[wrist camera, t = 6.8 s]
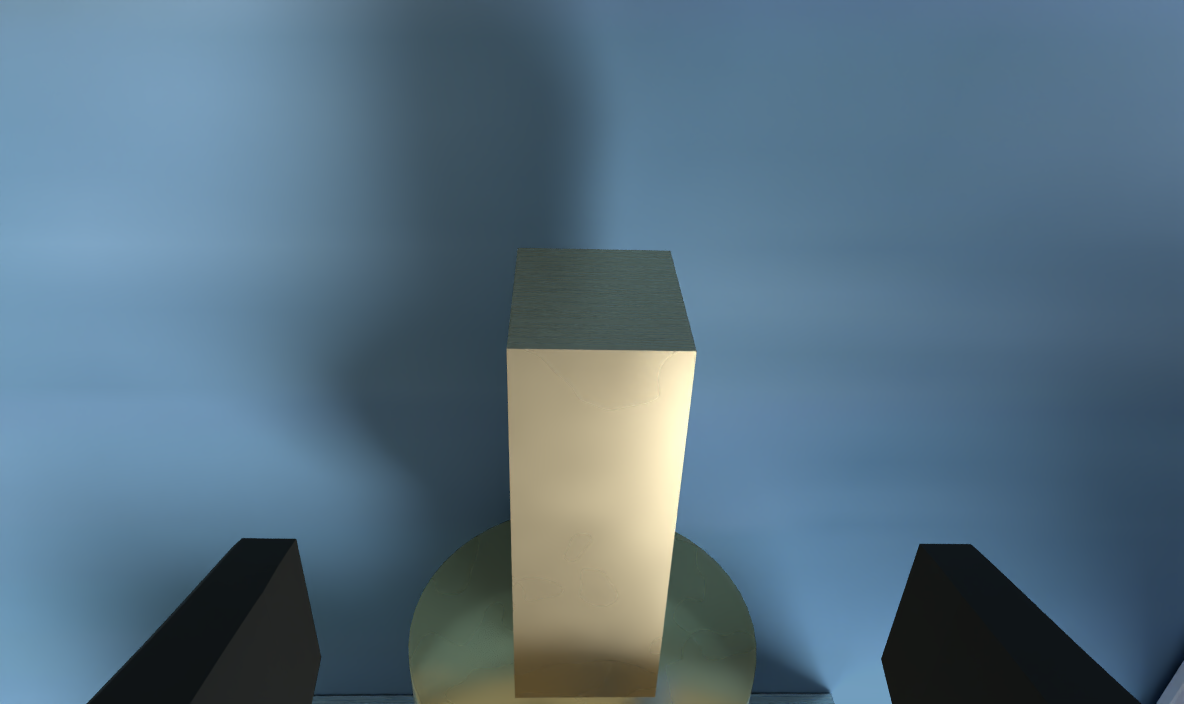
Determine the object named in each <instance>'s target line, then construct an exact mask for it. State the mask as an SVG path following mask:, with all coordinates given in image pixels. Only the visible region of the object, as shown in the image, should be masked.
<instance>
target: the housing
mask: <svg viewBox="0 0 1184 704" xmlns="http://www.w3.org/2000/svg"><path fill="white" fill-rule="evenodd" d="M312 704H415V703H414V697H413V696H313V700H312ZM749 704H834V701H833V697H832V694H751V695H750V700H749Z"/></svg>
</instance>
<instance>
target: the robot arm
mask: <svg viewBox="0 0 1184 704" xmlns="http://www.w3.org/2000/svg"><path fill="white" fill-rule="evenodd" d="M881 660H882V664H883V669H884V673H885V677H886V681H887V685H888V689H889V693H890V697H891V701H892V704H1141V703H1140V702H1139V701H1138V700H1137V699H1136V698H1134V697H1133V696H1132V695H1131V694H1130V693H1129V692H1128V691H1127V690H1126V689H1125V688H1123V687H1122V686H1121V685H1120V684H1119V683H1118V682H1117V681H1116V680H1115V679H1114V678H1113V677H1112V676H1110V675H1109V674H1108V673H1107V672H1106V671H1105V670H1104V669H1103V668H1102V667H1101V666H1100V665H1099V664H1097V663H1096V662H1095V661H1094V660H1093V659H1092V658H1091V657H1090V656H1089V655H1088V654H1087V653H1086V652H1085V651H1084V650H1083V649H1081V648H1080V647H1079V646H1078V645H1077V644H1076V643H1075V642H1074V641H1073V640H1072V639H1071V638H1070V637H1069V636H1068V635H1067V634H1066V633H1065V632H1064V631H1062V630H1061V629H1060V628H1059V627H1058V626H1057V625H1056V624H1055V623H1054V622H1053V621H1052V620H1051V619H1050V618H1049V617H1048V616H1047V615H1046V614H1045V613H1044V612H1042V611H1041V610H1040V609H1039V608H1038V607H1037V606H1036V605H1035V604H1034V603H1033V602H1032V601H1031V600H1030V599H1029V598H1028V597H1027V596H1026V595H1025V594H1024V593H1023V592H1022V591H1021V590H1019V589H1018V588H1017V587H1016V586H1015V585H1014V584H1013V583H1012V582H1011V581H1010V580H1009V579H1008V578H1007V577H1006V576H1005V575H1004V574H1003V573H1002V572H1001V571H1000V570H998V569H997V568H996V567H995V566H994V565H993V564H992V563H991V562H990V561H989V560H988V559H987V558H986V557H984V556H983V555H982V554H981V553H980V552H979V551H978V550H977V549H976V548H975V547H973V546H972V545H971V544H919V547H918V550H917V553H916V556H915V559H914V562H913V565H912V568H911V571H910V574H909V577H908V580H907V583H906V586H905V589H904V592H903V595H902V598H901V601H900V604H899V607H898V610H897V613H896V616H895V619H894V622H893V625H892V628H891V631H890V634H889V637H888V640H887V643H886V646H885V649H884V652H883V655H882V658H881ZM320 661H321V654H320V649H319V645H318V640H317V635H316V630H315V626H314V621H313V616H312V612H311V607H310V602H309V597H308V593H307V588H306V583H305V578H304V574H303V569H302V564H301V559H300V555H299V550H298V545H297V540H296V539H257V538H242V539H241V540H240V541H239V542H237V543H236V544H235V545H234V546H233V547H232V548H231V549H230V550H229V551H228V553H227V554H226V555H225V556H224V557H223V558H222V559H221V560H220V561H219V562H218V564H217V565H216V566H215V567H214V568H213V569H212V570H211V571H210V572H209V573H208V575H207V576H206V577H205V578H204V579H203V580H202V581H201V582H200V583H199V585H198V586H197V587H196V588H195V589H194V590H193V591H192V592H191V593H190V594H189V596H188V597H187V598H186V599H185V600H184V601H183V602H182V603H181V604H180V605H179V607H178V608H177V609H176V610H175V611H174V612H173V613H172V614H171V615H170V616H169V617H168V619H167V620H166V621H165V622H164V623H163V624H162V625H161V626H160V627H159V628H158V629H157V630H156V632H155V633H154V634H153V635H152V636H151V637H150V638H149V639H148V640H147V641H146V642H145V643H144V644H143V646H142V647H141V648H140V649H139V650H138V651H137V652H136V653H135V654H134V655H133V656H132V657H131V658H130V659H129V660H128V661H127V662H126V663H125V664H124V665H123V666H122V667H121V668H120V669H119V671H118V672H117V673H116V674H115V675H114V676H113V677H112V678H111V679H110V680H109V681H108V682H107V683H106V684H105V685H104V686H103V687H102V688H101V689H100V690H99V691H98V692H97V693H96V694H95V696H94V697H93V698H92V699H91V700H90V701H89V702H88V703H87V704H312V700H313V695H314V690H315V685H316V680H317V676H318V671H319V666H320ZM1156 704H1184V661H1183V662H1182V664H1181V666H1180V667H1179V669H1178V670H1177V672H1176V673H1175V675H1174V676H1173V678H1172V680H1171V681H1170V683H1169V684H1168V686H1167V687H1166V689H1165V691H1164V692H1163V694H1162V695H1161V697H1160V698H1159V700H1158V702H1157V703H1156Z"/></svg>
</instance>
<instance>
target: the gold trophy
mask: <svg viewBox="0 0 1184 704" xmlns="http://www.w3.org/2000/svg"><path fill="white" fill-rule="evenodd" d="M696 352H697V351H696V347H695V344H694V340H693V336H692V332H691V328H690V324H689V321H688V317H687V313H686V309H685V305H684V301H683V297H682V294H681V290H680V286H679V282H678V278H677V274H676V271H675V267H674V263H673V259H672V255H671V251H652V250H600V249H548V248H518V251H517V260H516V269H515V278H514V287H513V296H512V305H511V314H510V323H509V332H508V341H507V384H508V426H509V468H510V511H511V520H509V521H506V522H504V523H501V524H499V525H497V526H495V527H492V528H490V529H488V530H486V531H485V532H483V533H481V534H480V535H478V536H476V537H474V538H473V539H471V540H470V541H469V542H467V543H466V544H465V545H463V546H462V547H460V548H459V549H458V550H457V551H456V552H455V553H453V554H452V555H451V556H450V557H449V558H448V559H447V560H446V561H445V562H444V563H443V564H442V565H441V567H440V568H439V569H438V570H437V572H436V573H435V574H434V575H433V576H432V578H431V580H430V581H429V583H428V584H427V586H426V588H425V589H424V591H423V593H422V595H421V597H420V599H419V602H418V604H417V606H416V608H415V612H414V615H413V619H412V623H411V626H410V635H409V644H408V648H409V666H410V674H411V682H412V690H413V697H414V703H415V704H749V700H750V695H751V690H752V686H753V681H754V674H755V668H756V640H755V634H754V628H753V624H752V621H751V618H750V615H749V611H748V608H747V606H746V604H745V602H744V600H743V598H742V596H741V594H740V592H739V591H738V589H737V588H736V586H735V585H734V583H733V582H732V580H731V579H730V577H729V576H728V575H727V574H726V572H725V571H724V570H723V569H722V568H721V567H720V565H719V564H718V563H717V562H716V561H715V560H714V559H713V558H711V557H710V556H709V555H708V554H707V553H706V552H705V551H704V550H702V549H701V548H700V547H698V546H697V545H696V544H694V543H693V542H691V541H690V540H689V539H687V538H685V537H684V536H682V535H680V534H678V533H677V532H675V527H676V518H677V510H678V502H679V493H680V485H681V477H682V468H683V460H684V452H685V443H686V435H687V427H688V418H689V410H690V402H691V393H692V385H693V377H694V368H695V360H696Z"/></svg>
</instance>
